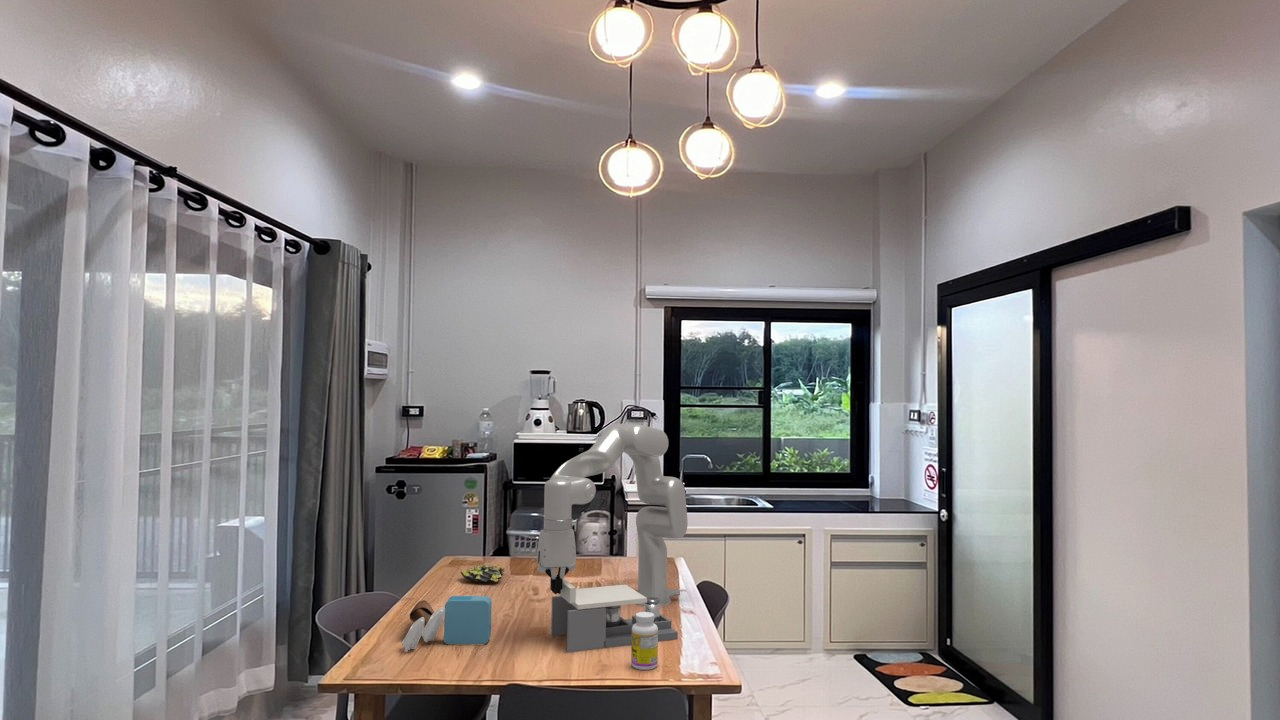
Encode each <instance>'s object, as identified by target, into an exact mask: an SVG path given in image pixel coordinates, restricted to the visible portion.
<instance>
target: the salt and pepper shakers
mask: <svg viewBox="0 0 1280 720" xmlns="http://www.w3.org/2000/svg"><path fill="white" fill-rule="evenodd" d="M444 616H445V607H443V606H442V607H440V608H438V609H437V610H435V611H434V613H433V614H432V615H431V617H430V619H429V621H428V623H427V624H426V626H425V628H424V622H425V619H424V617H421V618H420V619H418V620H417V621H416V622H412V625H411V626H410V628H409V630H408V632H407V633H406V635H405V637H404V638H403V640H402V645H403V648H404V652H405V651H408V650H409V651H411V650H410V649H414V650H415V649H416V648H417V645H418V643H419V641H420V639H421V637H422V639H423V641H424V642H425V643H428V642H432V641H434V640H435V638H436V636H437V634H438V632H439V630H440V628H441V627H442V624H443V623H444ZM409 651H408V652H409Z"/></svg>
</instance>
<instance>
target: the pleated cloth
mask: <svg viewBox="0 0 1280 720" xmlns="http://www.w3.org/2000/svg"><path fill="white" fill-rule="evenodd" d="M505 569H506V567H504V568H503V567H501V566H500V565H498V564H497V565H490V564H484V563H483V564H481V565H477V566H474V567H472V568H468V569H465V570H462V569H460V574H461V575H462V577H463V579H464V578H465V580H469V581H474V582H479V583H488V582H490V581H491V582H495V583H496V582H499V580H501V579H502V577H503V576H504V574H503V573H504V572H505Z"/></svg>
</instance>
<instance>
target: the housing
mask: <svg viewBox="0 0 1280 720" xmlns="http://www.w3.org/2000/svg"><path fill="white" fill-rule="evenodd" d="M550 618H551V626H550V628H551V629H550V635H551V637H555V636H556V637H557V636H562V635H563V636H564V635H566V638H567V639H566V653H568V654H569V653H570V654H571V653H578V652H586V651H587V652H588V651H593V650H602V649H611V648H618V647H619V648H620V647H626V646H627V647H628V646H632V626H633V625H634V624H635V623H637V621H636V615H631V618H628V619H624V618H623V617H621V616H620V626H616V627H607V628H606V607H598V608H588V609H577V608H575V607H574V606H573V605H572V604H570V603H569V602H568V601H566V600H565V599H564V598H563V597H562V596H560V595H555V596H554V595H553V596H551V617H550ZM653 623H654V624H656V625H657V627H658V643H659V642H667V641H675V640H679V639H678V636H679V634H678V633H679V632H678V631H677V630H675V629H674V628H673V627H672V620H670V619H669V618H668V617H666V616H665V615H662V613H660V622H653Z"/></svg>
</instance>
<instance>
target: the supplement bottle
mask: <svg viewBox="0 0 1280 720" xmlns="http://www.w3.org/2000/svg"><path fill="white" fill-rule="evenodd" d="M635 616H636V621H637V623H635V624H634V625H633V626H632V645H630V646H631V653H630V655H631V656H630V657H631V659H630V663H631V667H632V668H634V669H636V670H640V671H650V670H653V669H656V668H657V666H658V661H659V660H658V653H659V652H658V651H659V649H658V647H659V642H658V627H657V625H656V624H654V623H653V621H654V614H653V613H651V612H644V611H640V612H636V613H635Z"/></svg>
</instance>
